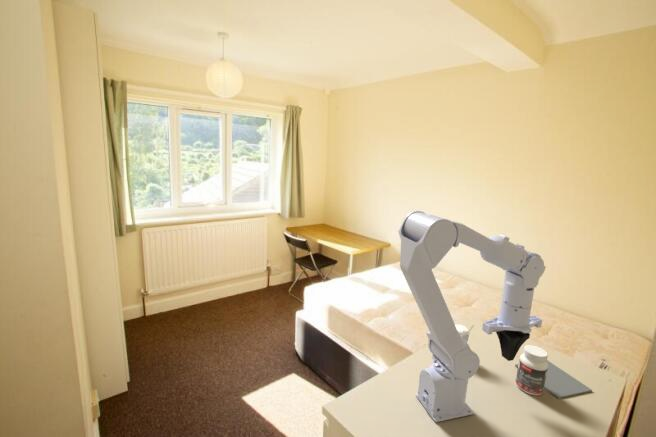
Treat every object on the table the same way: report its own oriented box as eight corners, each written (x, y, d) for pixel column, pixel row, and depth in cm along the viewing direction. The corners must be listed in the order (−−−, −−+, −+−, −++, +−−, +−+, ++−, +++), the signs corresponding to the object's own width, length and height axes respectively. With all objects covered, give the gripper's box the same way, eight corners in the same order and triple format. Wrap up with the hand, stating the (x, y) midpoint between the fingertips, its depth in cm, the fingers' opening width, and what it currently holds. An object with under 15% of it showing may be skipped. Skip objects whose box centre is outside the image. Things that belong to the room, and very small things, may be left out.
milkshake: (471, 364, 84) (475, 329, 82) (450, 360, 85) (454, 326, 83) (467, 354, 88) (471, 321, 87) (447, 351, 89) (451, 318, 88)
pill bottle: (514, 389, 75) (521, 352, 73) (515, 376, 80) (521, 340, 78) (543, 400, 72) (551, 361, 70) (542, 385, 77) (549, 348, 75)
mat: (557, 398, 73) (558, 397, 73) (514, 365, 84) (515, 364, 84) (591, 391, 75) (592, 389, 75) (545, 360, 87) (545, 359, 87)
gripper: (503, 314, 64) (494, 374, 66) (558, 307, 68) (548, 364, 70) (478, 299, 70) (471, 354, 73) (530, 294, 74) (521, 346, 77)
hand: (507, 357), depth 72 cm, fingers closed
